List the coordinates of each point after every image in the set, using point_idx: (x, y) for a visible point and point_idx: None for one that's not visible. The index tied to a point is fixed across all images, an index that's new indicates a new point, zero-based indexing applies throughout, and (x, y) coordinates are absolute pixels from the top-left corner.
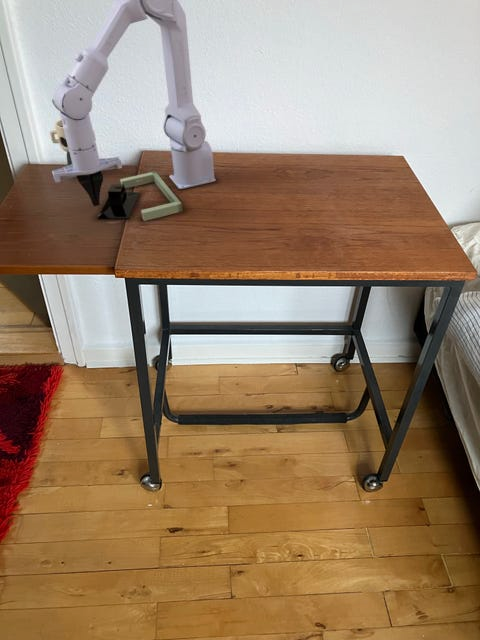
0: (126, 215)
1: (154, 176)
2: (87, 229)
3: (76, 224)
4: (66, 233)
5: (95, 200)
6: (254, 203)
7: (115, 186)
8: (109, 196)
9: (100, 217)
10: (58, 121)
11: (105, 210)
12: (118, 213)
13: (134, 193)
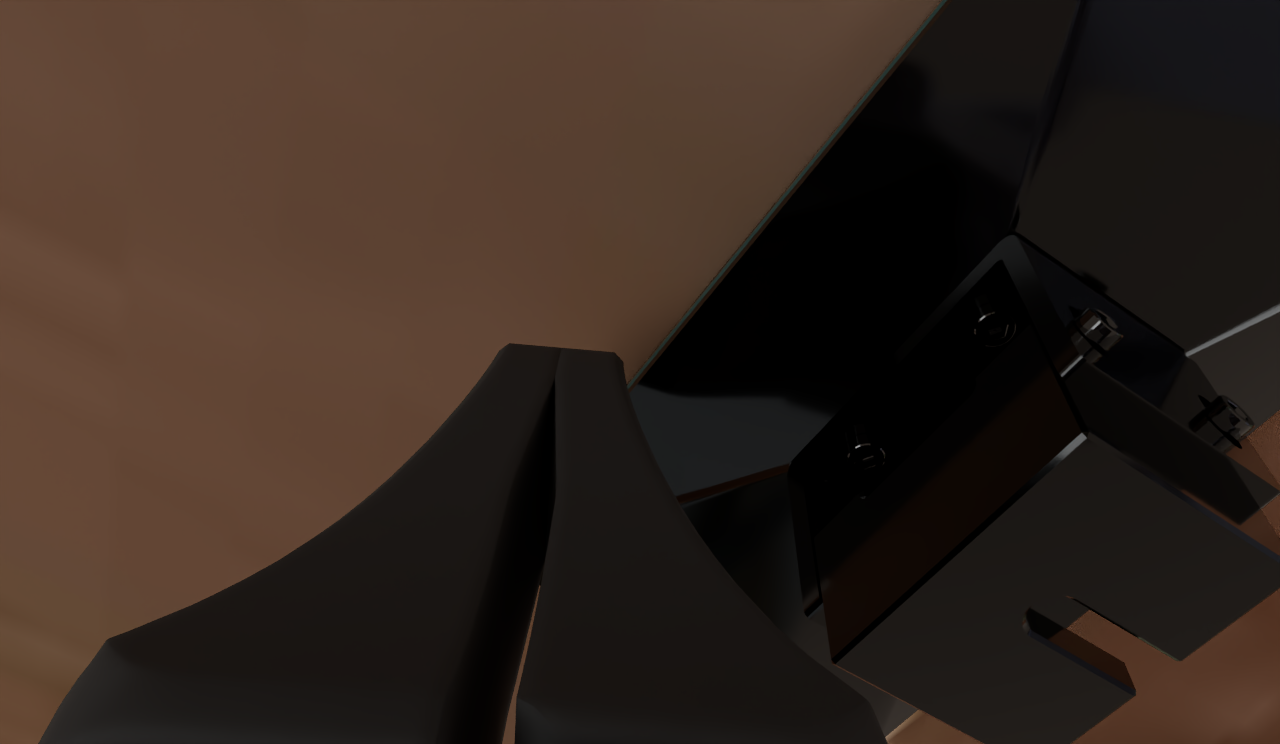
0: (883, 711)
1: None
2: None
3: (174, 511)
4: (22, 635)
5: (534, 593)
6: None
7: (1087, 564)
8: (823, 614)
9: (542, 571)
10: None
11: (673, 487)
12: (811, 637)
13: None
